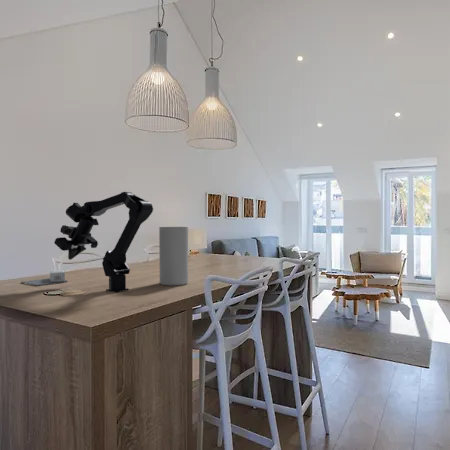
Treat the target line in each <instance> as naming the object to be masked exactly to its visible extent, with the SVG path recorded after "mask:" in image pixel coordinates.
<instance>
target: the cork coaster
mask: <svg viewBox="0 0 450 450" xmlns="http://www.w3.org/2000/svg"><path fill="white" fill-rule="evenodd" d="M59 294H60V295H63V296H62V297H77V296H82V295H84V294H86V291H84V290H66V291H62V292H60V293H59ZM60 295H59V296H60ZM76 295H77V296H76Z"/></svg>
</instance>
